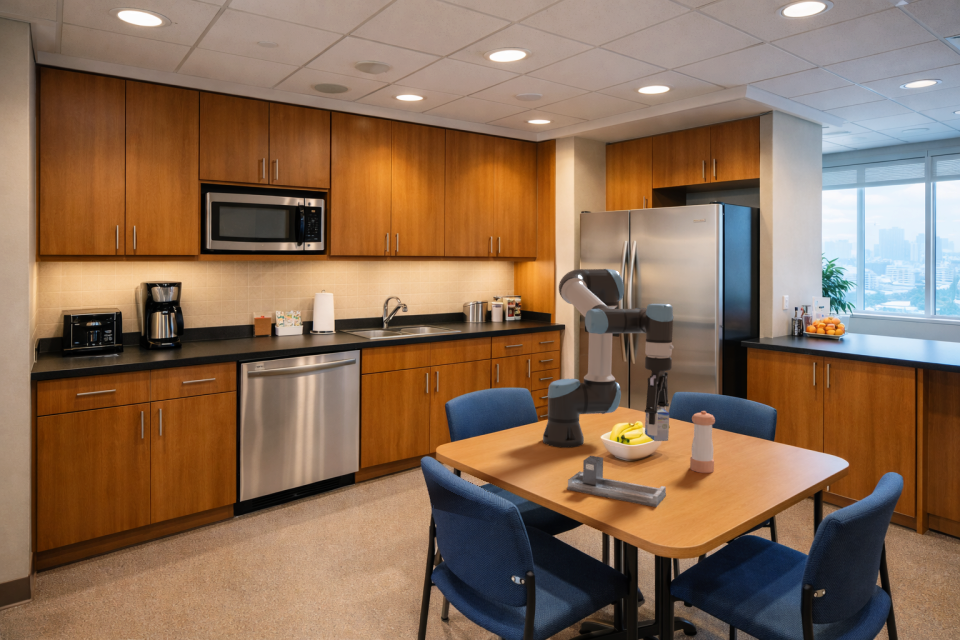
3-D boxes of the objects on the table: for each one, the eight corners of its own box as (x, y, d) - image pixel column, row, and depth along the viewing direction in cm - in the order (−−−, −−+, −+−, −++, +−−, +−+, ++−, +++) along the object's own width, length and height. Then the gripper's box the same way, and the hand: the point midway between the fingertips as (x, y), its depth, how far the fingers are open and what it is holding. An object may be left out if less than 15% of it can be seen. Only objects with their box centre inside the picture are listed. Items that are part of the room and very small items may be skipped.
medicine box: (644, 434, 187) (645, 406, 186) (658, 433, 187) (659, 406, 186) (654, 441, 179) (654, 412, 178) (668, 441, 179) (669, 411, 178)
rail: (567, 489, 179) (567, 460, 179) (580, 479, 188) (580, 451, 187) (656, 507, 166) (657, 475, 165) (665, 495, 175) (666, 465, 174)
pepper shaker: (718, 472, 195) (720, 413, 194) (697, 473, 194) (698, 414, 193) (706, 465, 202) (708, 408, 201) (685, 466, 201) (687, 408, 200)
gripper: (662, 361, 170) (660, 441, 172) (679, 352, 188) (677, 425, 190) (635, 359, 174) (633, 437, 175) (655, 351, 192) (653, 421, 194)
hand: (656, 431), depth 183 cm, fingers closed on medicine box, 9 cm apart
